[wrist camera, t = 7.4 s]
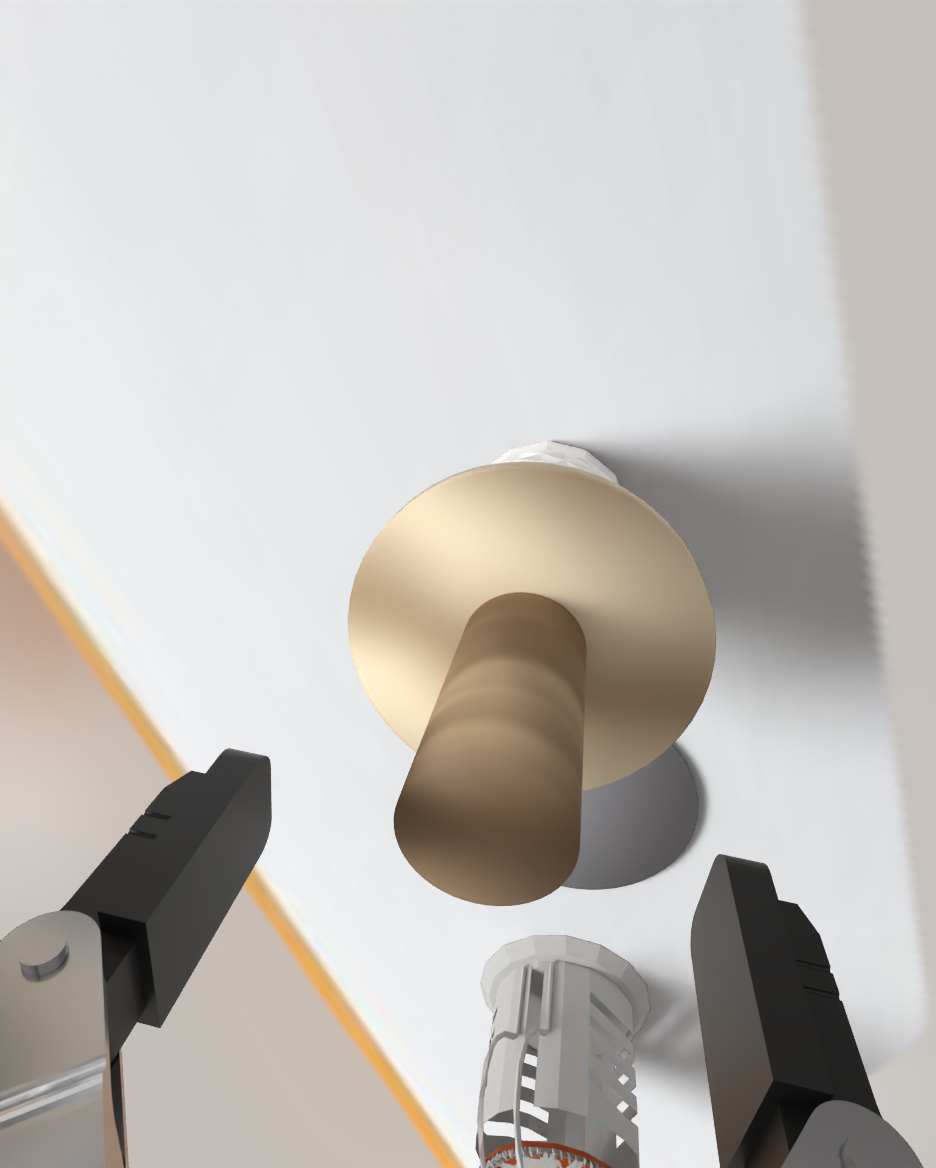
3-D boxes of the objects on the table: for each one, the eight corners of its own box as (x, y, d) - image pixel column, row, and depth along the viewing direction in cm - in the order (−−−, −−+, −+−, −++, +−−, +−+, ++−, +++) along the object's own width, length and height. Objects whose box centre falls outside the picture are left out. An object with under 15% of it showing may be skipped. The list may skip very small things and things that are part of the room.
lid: (363, 436, 18) (209, 536, 11) (756, 492, 17) (871, 644, 10) (351, 743, 22) (236, 960, 15) (665, 805, 21) (700, 1071, 14)
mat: (485, 686, 32) (484, 690, 32) (724, 732, 31) (725, 737, 30) (460, 857, 37) (458, 862, 36) (666, 903, 35) (667, 909, 35)
